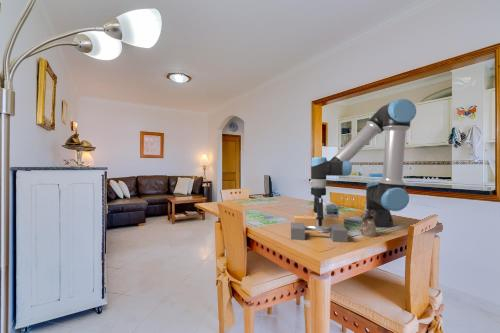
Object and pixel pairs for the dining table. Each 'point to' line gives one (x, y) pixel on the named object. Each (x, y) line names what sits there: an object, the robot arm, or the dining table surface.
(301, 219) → the light wood long bar
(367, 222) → the figurine
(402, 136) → the robot arm
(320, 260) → the dining table surface
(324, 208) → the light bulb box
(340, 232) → the grey dumbbell
